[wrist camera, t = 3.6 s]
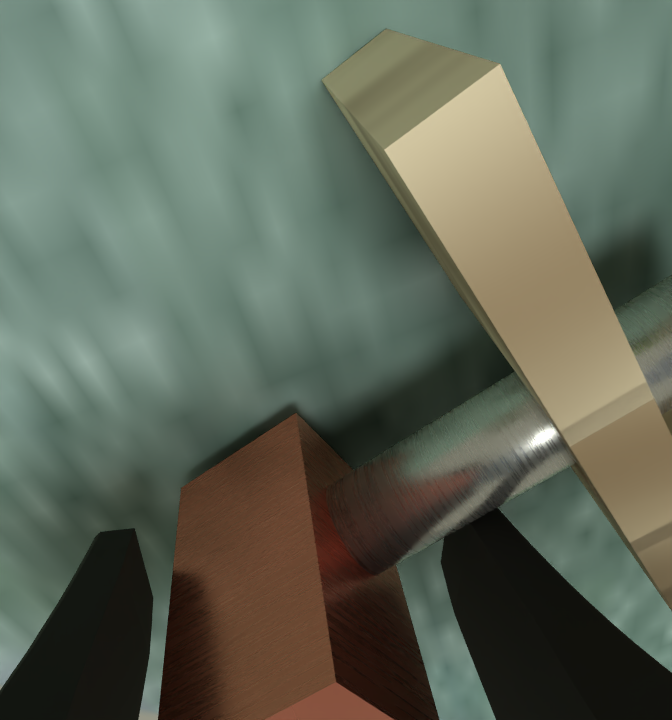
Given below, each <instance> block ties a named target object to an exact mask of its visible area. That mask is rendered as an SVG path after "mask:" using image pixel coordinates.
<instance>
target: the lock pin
mask: <svg viewBox="0 0 672 720" xmlns="http://www.w3.org/2000/svg"><path fill="white" fill-rule="evenodd" d="M614 312H615V314H616V317H617V319H618V321H619V323H620V325H621V327H622V330H623V332H624V334H625V336H626V338H627V340H628V343H629V345H630V347H631V349H632V351H633V353H634V356H635V358H636V360H637V362H638V364H639V366H640V369H641V371H642V373H643V375H644V377H645V379H646V382H647V384H648V386H649V388H650V390H651V393H652V395H653V397H654V399H655V401H656V403H657V406H658V408H659V410H660V412H661V414H664V413H666V412H667V411H669V410H671V409H672V275H671V276H669V277H668V278H666V279H664V280H663V281H661V282H659V283H658V284H656V285H655V286H653V287H651V288H650V289H648V290H646V291H645V292H643V293H642V294H640V295H638V296H637V297H635V298H633V299H632V300H630V301H629V302H627V303H625V304H624V305H622V306H620V307H619V308H617V309H616V310H614ZM575 463H577V462H576V460H575V459H574V457H573V455H572V454H571V452H570V451H569V449H568V447H567V446H566V444H565V443H564V441H563V439H562V438H561V436H560V435H559V433H558V432H557V430H556V428H555V427H554V425H553V424H552V422H551V420H550V419H549V417H548V416H547V415H546V413H545V412H544V410H543V409H542V408H541V406H540V405H539V404H538V402H537V401H536V399H535V398H534V397H533V395H532V394H531V393H530V391H529V390H528V388H527V387H526V386H525V384H524V383H523V382H522V380H521V379H520V377H519V376H518V375H517V373H516V372H513V373H511V374H510V375H508V376H507V377H505V378H503V379H502V380H500V381H498V382H497V383H495V384H494V385H492V386H490V387H489V388H487V389H485V390H484V391H482V392H481V393H479V394H477V395H476V396H474V397H472V398H471V399H469V400H468V401H466V402H464V403H463V404H461V405H459V406H458V407H456V408H454V409H453V410H451V411H450V412H448V413H446V414H445V415H443V416H441V417H440V418H438V419H437V420H435V421H433V422H432V423H430V424H428V425H427V426H425V427H424V428H422V429H420V430H419V431H417V432H415V433H414V434H412V435H411V436H409V437H407V438H406V439H404V440H402V441H401V442H399V443H398V444H396V445H394V446H393V447H391V448H389V449H388V450H386V451H385V452H383V453H381V454H380V455H378V456H376V457H375V458H373V459H372V460H370V461H368V462H367V463H365V464H363V465H362V466H360V467H359V468H357V469H355V470H353V469H352V468H351V467H350V466H349V465H348V464H347V463H346V462H345V461H344V460H343V459H342V458H341V457H340V456H339V455H338V454H337V453H336V452H335V451H334V450H333V449H332V448H331V447H330V446H329V445H328V444H327V443H326V442H325V441H324V440H323V439H322V438H321V437H320V436H319V435H318V434H317V433H316V432H315V431H314V430H313V429H312V428H311V427H310V426H309V425H308V424H307V423H306V422H305V421H304V420H303V419H302V418H301V417H300V416H299V415H298V414H297V413H295V414H293V415H292V416H290V417H289V418H287V419H286V420H284V421H283V422H281V423H279V424H278V425H276V426H275V427H273V428H272V429H270V430H269V431H267V432H266V433H264V434H263V435H261V436H260V437H258V438H257V439H255V440H254V441H252V442H250V443H249V444H247V445H246V446H244V447H243V448H241V449H240V450H238V451H237V452H235V453H234V454H232V455H231V456H229V457H228V458H226V459H225V460H223V461H221V462H220V463H218V464H217V465H215V466H214V467H212V468H211V469H209V470H208V471H206V472H205V473H203V474H202V475H200V476H199V477H197V478H196V479H194V480H193V481H191V482H189V483H188V484H186V485H185V486H183V487H182V488H181V496H180V506H179V515H178V525H177V535H176V545H175V555H174V565H173V575H172V585H171V595H170V605H169V615H168V625H167V635H166V645H165V655H164V665H163V675H162V685H161V695H160V705H159V715H158V720H439V717H438V713H437V710H436V706H435V702H434V699H433V695H432V692H431V688H430V685H429V681H428V678H427V674H426V670H425V667H424V663H423V660H422V656H421V653H420V649H419V645H418V642H417V638H416V635H415V631H414V628H413V624H412V621H411V617H410V613H409V610H408V606H407V603H406V599H405V596H404V592H403V588H402V585H401V581H400V578H399V574H398V571H397V567H396V564H398V563H400V562H402V561H403V560H405V559H407V558H409V557H410V556H412V555H414V554H416V553H417V552H419V551H421V550H423V549H425V548H426V547H428V546H430V545H432V544H433V543H435V542H437V541H439V540H441V539H442V538H444V537H446V536H448V535H449V534H451V533H453V532H455V531H456V530H458V529H460V528H462V527H464V526H465V525H467V524H469V523H471V522H472V521H474V520H476V519H478V518H479V517H481V516H483V515H485V514H487V513H488V512H490V511H492V510H494V509H495V508H497V507H499V506H501V505H503V504H504V503H506V502H508V501H510V500H511V499H513V498H515V497H517V496H518V495H520V494H522V493H524V492H526V491H527V490H529V489H531V488H533V487H534V486H536V485H538V484H540V483H542V482H543V481H545V480H547V479H549V478H550V477H552V476H554V475H556V474H557V473H559V472H561V471H563V470H565V469H566V468H568V467H570V466H572V465H573V464H575Z"/></svg>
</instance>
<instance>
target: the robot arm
mask: <svg viewBox="0 0 672 720" xmlns="http://www.w3.org/2000/svg"><path fill="white" fill-rule="evenodd" d="M441 565H442V569H443V573H444V577H445V580H446V584H447V588H448V592H449V596H450V599H451V603H452V606H453V610H454V613H455V616H456V619H457V621H458V624H459V626H460V629H461V632H462V634H463V637H464V639H465V642H466V644H467V647H468V650H469V652H470V655H471V657H472V660H473V662H474V665H475V667H476V670H477V672H478V675H479V677H480V680H481V683H482V685H483V688H484V690H485V693H486V695H487V698H488V700H489V703H490V705H491V708H492V710H493V713H494V715H495V718H496V720H672V673H671V672H670V671H669V670H668V669H666V668H665V667H664V666H662V665H661V664H660V663H659V662H657V661H656V660H655V659H654V658H653V657H651V656H650V655H649V654H648V653H646V652H645V651H644V650H643V649H641V648H640V647H639V646H638V645H637V644H635V643H634V642H633V641H632V640H631V639H630V638H628V637H627V636H626V635H625V634H624V633H623V632H621V631H620V630H619V629H618V628H617V627H616V626H615V625H613V624H612V623H611V622H610V621H609V620H608V619H607V618H606V617H605V616H603V615H602V614H601V613H600V612H599V611H598V610H597V609H596V608H595V607H594V606H593V605H591V604H590V603H589V602H588V601H587V600H586V599H585V598H584V597H583V596H582V595H581V594H580V593H579V592H578V591H577V590H576V589H575V588H573V587H572V586H571V585H570V584H569V583H568V582H567V581H566V580H565V579H564V578H563V577H562V576H561V575H560V574H559V573H558V572H557V571H556V570H555V569H554V568H553V567H552V566H551V565H550V564H549V563H548V562H547V561H546V560H545V559H544V558H543V557H542V555H541V554H540V553H539V552H538V551H537V550H536V549H535V548H534V547H533V546H532V545H531V544H530V543H529V542H528V541H527V540H526V539H525V538H524V536H523V535H522V534H521V533H520V532H519V531H518V530H517V529H516V528H515V527H514V526H513V525H512V523H511V522H510V521H509V520H508V519H507V518H506V517H505V516H504V515H503V514H502V512H501V511H500V510H499V509H498V508H495V509H494V510H492V511H490V512H488V513H487V514H485V515H483V516H481V517H479V518H478V519H476V520H474V521H472V522H471V523H469V524H467V525H465V526H464V527H462V528H460V529H458V530H456V531H455V532H453V533H451V534H449V535H448V536H446V537H444V544H443V551H442V557H441ZM152 610H153V595H152V591H151V588H150V584H149V580H148V577H147V573H146V569H145V565H144V562H143V558H142V554H141V550H140V547H139V543H138V539H137V535H136V532H135V528H132V529H123V530H114V531H105V532H100V533H99V534H98V535H97V536H96V537H95V538H94V540H93V542H92V544H91V546H90V548H89V550H88V552H87V553H86V555H85V557H84V559H83V561H82V562H81V564H80V566H79V568H78V569H77V571H76V573H75V575H74V576H73V578H72V580H71V582H70V583H69V585H68V587H67V588H66V590H65V592H64V593H63V595H62V597H61V599H60V600H59V602H58V604H57V605H56V607H55V608H54V610H53V612H52V613H51V615H50V616H49V618H48V619H47V621H46V623H45V624H44V626H43V627H42V629H41V631H40V632H39V634H38V635H37V637H36V638H35V640H34V642H33V643H32V645H31V646H30V648H29V649H28V651H27V652H26V654H25V655H24V657H23V658H22V660H21V661H20V663H19V664H18V665H17V667H16V668H15V670H14V671H13V673H12V674H11V675H10V677H9V678H8V680H7V681H6V683H5V684H4V686H3V687H2V688H1V690H0V720H138V717H139V712H140V707H141V701H142V695H143V689H144V684H145V678H146V672H147V666H148V660H149V654H150V641H151V627H152Z"/></svg>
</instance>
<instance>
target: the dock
mask: <svg viewBox="0 0 672 720" xmlns="http://www.w3.org/2000/svg"><path fill="white" fill-rule="evenodd" d="M322 82H323V83H324V85H325V87H326V88H327V90H328V91H329V93H330V94H331V96H332V97H333V99H334V101H335V102H336V104H337V105H338V107H339V108H340V110H341V111H342V113H343V115H344V116H345V118H346V119H347V121H348V122H349V124H350V125H351V127H352V128H353V130H354V132H355V133H356V135H357V136H358V138H359V139H360V141H361V142H362V144H363V146H364V147H365V149H366V150H367V152H368V153H369V155H370V156H371V158H372V160H373V161H374V163H375V164H376V166H377V167H378V169H379V170H380V172H381V174H382V175H383V177H384V178H385V180H386V181H387V183H388V184H389V186H390V187H391V189H392V191H393V192H394V194H395V195H396V197H397V198H398V200H399V201H400V203H401V205H402V206H403V208H404V209H405V211H406V212H407V214H408V215H409V217H410V219H411V220H412V222H413V223H414V225H415V226H416V228H417V229H418V231H419V233H420V234H421V236H422V237H423V239H424V240H425V242H426V243H427V245H428V247H429V248H430V250H431V251H432V253H433V254H434V256H435V257H436V259H437V260H438V262H439V264H440V265H441V267H442V268H443V270H444V271H445V273H446V274H447V276H448V278H449V279H450V281H451V282H452V284H453V285H454V287H455V288H456V290H457V292H458V293H459V295H460V296H461V297H462V299H463V300H464V302H465V303H466V304H467V306H468V307H469V308H470V310H471V311H472V313H473V314H474V315H475V317H476V318H477V319H478V321H479V322H480V324H481V325H482V326H483V328H484V329H485V331H486V332H487V333H488V335H489V336H490V337H491V339H492V340H493V342H494V343H495V344H496V346H497V347H498V348H499V350H500V351H501V353H502V354H503V355H504V357H505V358H506V359H507V361H508V362H509V364H510V365H511V366H512V368H513V369H514V371H515V372H516V373H517V375H518V376H519V377H520V379H521V380H522V382H523V383H524V384H525V386H526V387H527V388H528V390H529V391H530V393H531V394H532V395H533V397H534V398H535V399H536V401H537V402H538V404H539V405H540V406H541V408H542V409H543V410H544V412H545V413H546V415H547V416H548V417H549V419H550V420H551V422H552V424H553V425H554V427H555V428H556V430H557V432H558V433H559V435H560V436H561V438H562V439H563V441H564V443H565V444H566V446H567V447H568V449H569V451H570V452H571V454H572V455H573V457H574V459H575V460H576V462H577V463H575V464H573V465H572V466H571V467H572V469H573V470H574V472H575V473H576V475H577V476H578V477H579V479H580V480H581V482H582V483H583V485H584V486H585V487H586V489H587V490H588V492H589V493H590V495H591V496H592V498H593V499H594V500H595V502H596V503H597V505H598V506H599V508H600V509H601V510H602V512H603V513H604V515H605V516H606V518H607V519H608V520H609V522H610V523H611V525H612V526H613V528H614V529H615V530H616V532H617V533H618V535H619V536H620V538H621V539H622V540H623V542H624V543H625V545H626V546H627V548H628V549H629V551H630V552H631V553H632V555H633V556H634V558H635V559H636V561H637V562H638V563H639V565H640V566H641V568H642V569H643V571H644V572H645V573H646V575H647V576H648V578H649V579H650V581H651V582H652V583H653V585H654V586H655V588H656V589H657V591H658V592H659V594H660V595H661V596H662V598H663V599H664V601H665V602H666V604H667V605H668V606H669V608H670V609H671V611H672V409H671V410H669V411H667V412H666V413H664V414H661V412H660V410H659V408H658V406H657V403H656V401H655V399H654V397H653V395H652V393H651V390H650V388H649V386H648V384H647V382H646V379H645V377H644V375H643V373H642V371H641V369H640V366H639V364H638V362H637V360H636V358H635V356H634V353H633V351H632V349H631V347H630V345H629V343H628V340H627V338H626V336H625V334H624V332H623V330H622V327H621V325H620V323H619V321H618V319H617V317H616V314H615V312H614V310H613V308H612V306H611V304H610V301H609V299H608V297H607V295H606V293H605V291H604V288H603V286H602V284H601V282H600V280H599V278H598V275H597V273H596V271H595V269H594V267H593V264H592V262H591V260H590V258H589V256H588V254H587V251H586V249H585V247H584V245H583V243H582V241H581V238H580V236H579V234H578V232H577V230H576V228H575V225H574V223H573V221H572V219H571V217H570V215H569V212H568V210H567V208H566V206H565V204H564V202H563V199H562V197H561V195H560V193H559V191H558V189H557V186H556V184H555V182H554V180H553V178H552V176H551V173H550V171H549V169H548V167H547V165H546V163H545V160H544V158H543V156H542V154H541V152H540V150H539V147H538V145H537V143H536V141H535V139H534V136H533V134H532V132H531V130H530V128H529V126H528V123H527V121H526V119H525V117H524V115H523V113H522V110H521V108H520V106H519V104H518V102H517V100H516V97H515V95H514V93H513V91H512V89H511V87H510V84H509V82H508V80H507V78H506V76H505V74H504V71H503V69H502V67H501V65H500V64H499V63H496V62H492V61H489V60H486V59H483V58H479V57H476V56H473V55H470V54H466V53H463V52H460V51H457V50H454V49H450V48H447V47H444V46H441V45H437V44H434V43H431V42H428V41H424V40H421V39H418V38H415V37H411V36H408V35H405V34H402V33H398V32H395V31H392V30H389V29H385V30H384V31H383V32H381V33H380V34H379V35H378V36H376V37H375V38H374V39H373V40H371V41H370V42H369V43H367V44H366V45H365V46H364V47H362V48H361V49H360V50H359V51H357V52H356V53H355V54H354V55H352V56H351V57H350V58H349V59H347V60H346V61H345V62H343V63H342V64H341V65H340V66H338V67H337V68H336V69H335V70H333V71H332V72H331V73H330V74H328V75H327V76H326V77H325V78H323V79H322Z"/></svg>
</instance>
